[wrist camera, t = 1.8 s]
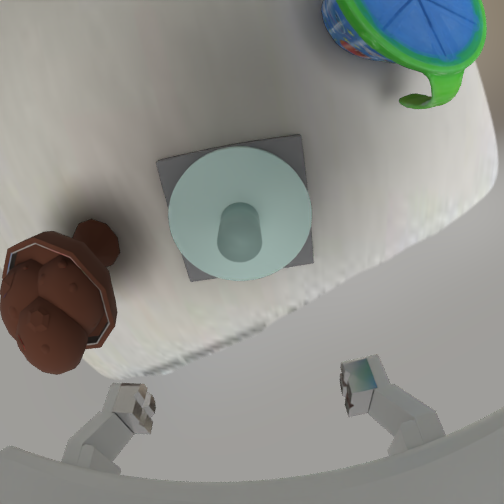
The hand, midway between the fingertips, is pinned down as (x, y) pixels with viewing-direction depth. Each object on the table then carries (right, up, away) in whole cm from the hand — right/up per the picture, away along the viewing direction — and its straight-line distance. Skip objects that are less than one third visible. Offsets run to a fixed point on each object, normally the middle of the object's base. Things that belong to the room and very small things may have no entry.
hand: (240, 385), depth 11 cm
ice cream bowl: (-15, +6, +17) cm, 24 cm away
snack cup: (+10, +25, +7) cm, 27 cm away
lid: (-1, +8, +15) cm, 17 cm away
